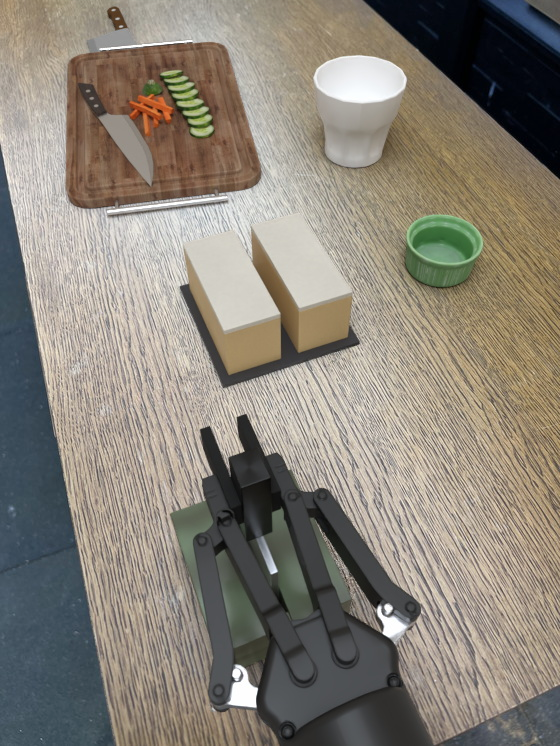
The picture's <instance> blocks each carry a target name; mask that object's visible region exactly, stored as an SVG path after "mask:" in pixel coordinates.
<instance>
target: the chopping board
mask: <svg viewBox="0 0 560 746" xmlns="http://www.w3.org/2000/svg"><path fill="white" fill-rule="evenodd" d="M99 49H100V52H94V53H90V52H86V53H81V54H78V55H75V56H73V57H71V58H70V59H69V61H68V62H67V67H66V68H67V69H66V70H67V72H66V73H67V74H66V122H65V124H66V125H65V126H66V127H65V129H66V130H65V131H66V132H65V134H66V135H65V136H66V137H65V180H64V181H65V183H64V184H65V185H64V188H65V191H66V194H67V197H68V200H69V202H70V203H71V204H72V205H74V206H75V207H78V208H83V209H96V208H105V207H112V206H113V207H114V208H113V207H112V208H106V210H105V211H106V215H107V216H114V215H122V214H129V213H130V214H131V213H137V212H147V211H154V210H163V209H170V208H179V207H187V206H196V205H205V204H213V203H219V202H225V201H227V202H228V201H229V196H228V194H220V193H228V192H237V191H244V190H247V189H251V188H252V187H254V186H255V185H257V184H258V183H259V182H260V180H261V177H262V169H261V168H262V165H261V162H260V157H259V155H258V152H257V148H256V144H255V141H254V137H253V134H252V130H251V127H250V123H249V120H248V116H247V113H246V110H245V106H244V102H243V99H242V95H241V93H240V88H239V85H238V81H237V78H236V75H235V72H234V71H235V70H234V68H233V65H232V61H231V58H230V57H231V56H230V54H229V51H228V48H227V47H226V46H225V45H224V44H222V43H220V42H216V41H201V42H200V41H199V42H194V40H193V38H191V39H190V38H189V39H179V40H168V41H157V42H147V43H145V42H144V43H137V44H135V45H124V46H113V47H102V48H99ZM212 194H214V195H212ZM203 195H204V196H205V195H211V196H205V197H204V196H203ZM195 196H203V197H195ZM186 197H187V198H188V197H195V198H188V199H187V198H186ZM178 198H186V199H179V200H178ZM170 199H171V201H163V202H154V203H145V202H153V201H162V200H170ZM172 199H177V200H172ZM136 203H145V204H138V205H137V204H136ZM129 204H136V205H129ZM121 205H129V206H122V207H120V206H121Z"/></svg>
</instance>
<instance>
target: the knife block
mask: <svg viewBox="0 0 560 746" xmlns="http://www.w3.org/2000/svg"><path fill="white" fill-rule="evenodd" d="M288 470H289V472H290V474H291V476H292V479H293V481H294V483H295V485H296V487H297V488H298V489H299V490H301V491H302V489H301V487H300V484H299V483H298V481H297V479H296V477H295V475H294V472H293V470H292V469H288ZM169 515H170V519H171V522H172V525H173V528H174V531H175V533H176V534H175V536H176V539H177V540H178V544H179V547H180V550H181V553H182V556H183V560H184V562H185V565H186V569H187V572H188V574H189V578H190V581H191V585H192V587H193V591H194V593H195V596H196V599H197V602H198V605H199V609H200V612H201V614H202V618H203V620H204V624H205V627H206V630H207V633H208V634H209V632H208V627H207V621H206V615H205V610H204V604H203V598H202V593H201V587H200V582H199V576H198V570H197V565H196V559H195V554H194V548H193V539H194V537H195V536H196V535H197V534H198V533H201V532H205V531H207V530H208V529H209V528H210V527H211V526H212V524H213V519H212V516H211V513H210V511H209V508H208V505H207V502H206V500H205V499H204V500H203V501H200V502H197V503H195V504H192V505H188V506H186V507H183V508H181V509H179V510H175V511H173V512H170V513H169ZM310 520H311V523H312V526H313V529H314V532H315V535H316V538H317V540H318V543H319V546H320V549H321V552H322V555H323V558H324V561H325V564H326V567H327V569H328V572H329V575H330V578H331V581H332V584H333V585H334V586H335V588H336V591H337V594H338V597H339V600H340V602H341V605H342V608H343V610H344V611H346V612H348V613H350V611H351V607H352V604H353V603H352V602H353V597H352V595H351V593H350V591H349V589H348V586H347V584H346V582H345V580H344V577H343V576H342V574H341V572H340V570H339V568H338V567H339V566H338V565H337V563H336V561H335V559H334V557H333V555H332V553H331V551H330V548H329V546H328V544H327V542H326V540H325V537H324V535H323V534H322V533H323V532H322V530H321V528H320V526H319V525H318V523H317V522H316V520H315V519H314V518H310ZM272 527H273V532H272V533H269V534H266V535H264V538H265V540H266V543H267V545H268V548H269V550H270V552H271V555H272V557H273V560H274V562H275V565H276V567H277V569H278V587H279V603H280V604H281V605H282V607H283V608H284V610H285V612H286V614H287V615H288V617H289V619H290V621H291V620H298V619H305V618H307V617H308V616H309V615H310V614H312V613H313V612H314V611H313V606H312V602H311V599H310V596H309V593H308V589H307V586H306V583H305V580H304V577H303V574H302V571H301V568H300V564H299V561H298V558H297V555H296V552H295V549H294V546H293V543H292V539H291V536H290V533H289V530H288V527H287V524H286V521H284V511H283V509H282V507H281V509H280V510H277V511H274V512H272ZM216 561H217V566H218V572H219V577H220V582H221V587H222V592H223V597H224V602H225V607H226V612H227V617H228V622H229V627H230V632H231V637H232V642H233V647H234V652H235V658H236V665H241V666H243V667H244V668H246V667H249V666H251V665H254V664H256V663H258V662H262V661H263V660H265V657H266V653H267V649H268V645H269V640H268V638H267V636H266V634H265V631H264V629H263V626H262V624H261V622H260V620H259V618H258V616H257V614H256V612H255V610H254V608H253V606H252V604H251V602H250V600H249V598H248V596H247V594H246V592H245V590H244V588H243V586H242V584H241V582H240V580H239V578H238V576H237V574H236V572H235V570H234V568H233V566H232V564H231V562H230V560H229V558H228V556H227V554H226V552H225V550H223V551H222V552H220V553H219V554H218V555H217V556H216Z"/></svg>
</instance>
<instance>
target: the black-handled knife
mask: <svg viewBox="0 0 560 746" xmlns="http://www.w3.org/2000/svg"><path fill="white" fill-rule="evenodd" d="M227 459H228V467H229V474H230V477H231V480H232V482H233V485H234V487H235V490H236V492H237V495H238V497H239V500H240V502H241V505H242V513H243V523H242V524H240V525H239V527H240V529H241V531H242V533H243V535H244V536H245V538H246V540H247V542H248V544H249V546H250V548H251V550H252V552H253V554H254V555H255V557H256V559H257V561H258V563H259V565H260V567H261V569H262V571H263V573H264V575H265V576H266V578H267V580H268V582H269V584H270V586H271V588H272V590H273V592H274V594H275V595H276V597H277V599H278V601H279V587H278V569H277V567H276V565H275V562H274V560H273V557H272V555H271V552H270V550H269V548H268V545H267V543H266V540H265V538H264V535H266V534H269V533H272V532H273V527H272V492H271V476H270V474H269V471H268V469H267V467H266V465H265V462H264V460H263V458H262V456H261V454H260V451H259V449H258V448H257V447H256V448H253V449H250V450H247V451H242V452H239V453H236V454H233V455H230V456H228V458H227Z"/></svg>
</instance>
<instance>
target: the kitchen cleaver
mask: <svg viewBox="0 0 560 746" xmlns="http://www.w3.org/2000/svg"><path fill="white" fill-rule="evenodd" d="M106 13H107V17H108V18H110V19H111V22H112V24H113V27H114V30H112V31H110V32H107V33H104V34H101V35H99V36H96V37H93V38H89V39H87V40H86V44H87V48H88V50H89V53H94V52H100V49H99V48H102V47H113V46H124V45H135V44H138V42H137V41H136V40H135V39H134V37H133V35H132V33H131V32H130V30H129V26H128V25H127V22H126V21H125V17H124V16H123V13H122V12H121V9H120V8H119V7H118V6H115V5H114V6H111V7H109V8H108V9H107V10H106Z"/></svg>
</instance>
